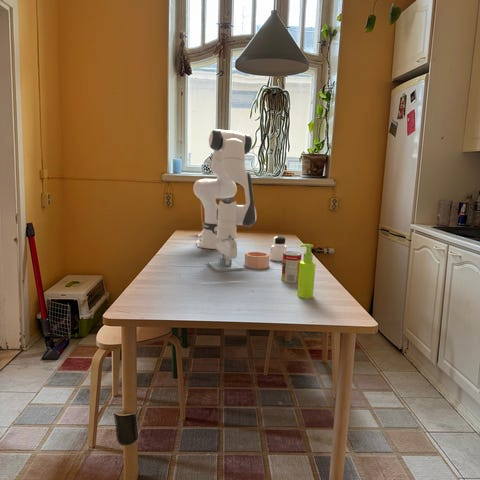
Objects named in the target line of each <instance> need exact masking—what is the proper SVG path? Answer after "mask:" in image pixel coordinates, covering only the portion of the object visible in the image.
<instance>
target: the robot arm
mask: <svg viewBox="0 0 480 480" xmlns="http://www.w3.org/2000/svg"><path fill="white" fill-rule="evenodd" d="M252 139H253V138H252V137H251V135H249V134H247V133H242V132H240V131H235V130H227V129H226V130H225V129H220V128H219V129H217V128H215V129H213V130H212V131H210V134H209V137H208V144H209V147H210V148H211V150H213V153H212V157H211V162H210V165H209V166H210V171H211V173H213V174H214V175H215V176H216V178H201V179H197V180H195V182H194V184H193V187H192V188H193V189H192V190H193V193H194V195H195V196H196V197H197V199H199V200H200V203H201V202H202V203H203V206H204V210H205V222H204V225H203V228H204V229H203V230H201V232H200V233H199V234H197V239H198V240H196V241H195V243H196V244H195V245H197V248H202V249H203V248H204V249H210V250H211V249H212V250H216V251H219V252H220V255H221V256H220V257H221V258H226V260H225V264H226V265H229V263H230V259H236V258H237V257H238V244H237V241H236V240H235V239H237V226H244V227H252V226H253V225H254V224H255V223H256V221H257V217H258V216H257V210H256V209H257V208H256V206H255V200H254V199H255V198H254V191H253V183H252V182H253V181H252V177H251V173H250V172H248V171H247V169H246V167H245V165H246V164H245V162H246V159H245V158H246V157H245V155H247V154H249V153H250V152H251V148H252V146H253V140H252ZM236 183H237V184H239V185H241V186H242V188H243V189H244V195H245V204H238V203H237V200H236V199H235V198H233V197H235V195H236V194H237V192H238V188H237V187H238V186H237V184H236ZM216 198H224V199H221V200H220V202H219V205H218V204H217V203H216Z"/></svg>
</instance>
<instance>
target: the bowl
mask: <svg viewBox="0 0 480 480" xmlns="http://www.w3.org/2000/svg"><path fill="white" fill-rule="evenodd" d="M244 266H245V267H247V268H250V269H255V270H256V269H257V270H258V269H267V268H269V267H270V254H269V253H267V252H265V251H264V252H262V251H247V252H246V253H244Z"/></svg>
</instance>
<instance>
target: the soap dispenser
mask: <svg viewBox="0 0 480 480" xmlns="http://www.w3.org/2000/svg"><path fill="white" fill-rule="evenodd" d="M297 245H298V247H299V248H302V247H305V248H306V251H305V252H304V253H303V259H302V260H301V261H300V265H299V279H298V283H297V294H296V295H297V296H298V298H301V299H312V298H313V297H314V286H315V276H316V266H317V265H316V262H315V261H313V258H314V254H313V253H312V248H314V245H313V244H312V243H311V244H310V243H300V244H297Z"/></svg>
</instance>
